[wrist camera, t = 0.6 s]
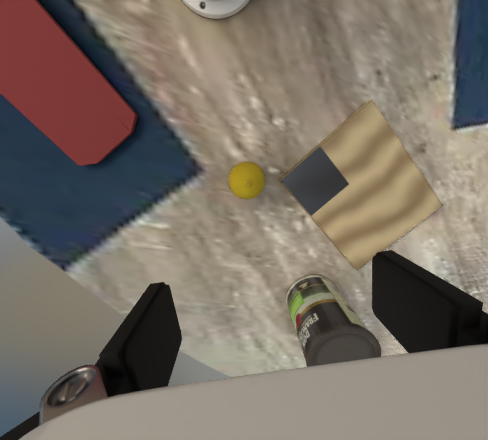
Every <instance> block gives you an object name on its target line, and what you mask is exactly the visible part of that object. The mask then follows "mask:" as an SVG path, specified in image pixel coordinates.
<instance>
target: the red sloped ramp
mask: <svg viewBox="0 0 488 440" xmlns="http://www.w3.org/2000/svg"><path fill="white" fill-rule="evenodd" d="M0 93H1V94H2V95H3V96H4V97H5V98H6V99H7V100H8V101H9V102H10V103H11V104H12V105H14V106H15V107H16V108H17V109H18V110H19V111H20V112H21V113H22V114H23V115H24V116H25V117H27V118H28V119H29V120H30V121H31V122H32V123H33V124H34V125H35V126H36V127H37V128H39V129H40V130H41V131H42V132H43V133H44V134H45V135H46V136H47V137H48V138H49V139H50V140H52V141H53V142H54V143H55V144H56V145H57V146H58V147H59V148H60V149H61V150H62V151H63V152H65V153H66V154H67V155H68V156H69V157H70V158H71V159H72V160H73V161H74V162H75V163H77V164H78V165H79V166H81V165H88V164H95V163H100V162H101V161H102V160H103V159H105V158H106V157H107V156H108V155H109V154H110V153H111V152H112V151H113V150H115V149H116V148H117V147H118V146H119V145H120V144H121V143H122V142H124V141H125V140H126V139H127V138H128V137H129V136H130V135H131V134H132V133H134V129H135V125H136V121H137V117H138V114H137V113H136V112H135V111H134V110H133V109H132V108H131V106H130V105H129V104H128V103H127V102H126V101H125V100H124V98H123V97H122V96H121V95H120V94H119V93H118V92H117V91H116V89H115V88H114V87H113V86H112V85H111V84H110V83H109V81H108V80H107V79H106V78H105V77H104V76H103V75H102V73H101V72H100V71H99V70H98V69H97V68H96V67H95V65H94V64H93V63H92V62H91V61H90V60H89V59H88V57H87V56H86V55H85V54H84V53H83V52H82V51H81V49H80V48H79V47H78V46H77V45H76V44H75V43H74V41H73V40H72V39H71V38H70V37H69V36H68V35H67V33H66V32H65V31H64V30H63V29H62V28H61V27H60V25H59V24H58V23H57V22H56V21H55V20H54V19H53V17H52V16H51V15H50V14H49V13H48V12H47V11H46V9H45V8H44V7H43V6H42V5H41V4H40V3H39V1H38V0H0Z"/></svg>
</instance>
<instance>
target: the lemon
mask: <svg viewBox="0 0 488 440" xmlns="http://www.w3.org/2000/svg"><path fill="white" fill-rule="evenodd" d="M229 186H230V189H231V190H232V192H233V193H234V194H235V195H236V196H238V197H239V198H242V199H251V198H254V197H256V196H258V195H259V194H260V193H261V192H262V190H263V188H264V186H265V175H264V172H263V171H262V169H261V168H260V167H259V166H258V165H257V164H255V163H252V162H242V163H239V164H237V165H236V166H235V167H234V168H233V169H232V170H231V172H230V175H229Z"/></svg>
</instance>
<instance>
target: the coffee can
mask: <svg viewBox="0 0 488 440" xmlns="http://www.w3.org/2000/svg"><path fill="white" fill-rule="evenodd" d="M286 304H287V308H288V310H289V312H290V315H291V318H292V321H293V324H294V327H295V330H296V333H297V336H298V339H299V342H300V345H301V348H302V351H303V354H304V357H305V359H306V365H307V367H311V366H318V365H325V364H333V363H340V362H348V361H355V360H363V359H370V358H377V357H381V347H380V344H379V342H378V340H377V339H376V338H375V336H374V335H373V334H372V333H371V332H370V331H369V330H368V329H367V328H366V326H365V325H364V324H363V322H362V321H361V320H360V319H359V317H358V316H357V315H356V313H355V312H354V311H353V309H352V308H351V307H350V305H349V304H348V303H347V302H346V300H345V299H344V298H343V296H342V295H341V294H340V292H339V291H338V290H337V288H336V286H335V285H334V284H333V282H331V281H330V280H329V279H327V278H325V277H323V276H319V275H309V276H305V277H303V278H300V279H299V280H297V281H296V282H295V283H293V285H292V286H291V287H290V288H289V290H288V292H287V296H286Z"/></svg>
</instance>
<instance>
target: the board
mask: <svg viewBox="0 0 488 440" xmlns="http://www.w3.org/2000/svg"><path fill="white" fill-rule="evenodd" d="M280 181H281V183H282V184H283V185H284V186H285V187H286V188H287V190H288V191H289V192H290V193H291V194H292V195H293V197H294V198H295V199H296V200H297V201H298V203H299V204H300V205H301V206H302V207H303V208H304V210H305V211H306V212H307V213H308V214H309V215H310V217H311V218H312V219H313V220H314V221H315V222H316V224H317V225H318V226H319V227H320V228H321V229H322V231H323V232H324V233H325V234H326V235H327V236H328V238H329V239H330V240H331V241H332V242H333V244H334V245H335V246H336V247H337V248H338V249H339V251H340V252H341V253H342V254H343V255H344V256H345V258H346V259H347V260H348V261H349V262H350V263H351V265H352V266H353V267H354V268H355V269H356V270H358V269H359V268H361V267H362V266H363V265H365V264H366V263H367V262H369V261H370V260H371V259H372V258H373V256H375V255H376V253H377V252H382V251H383V250H384V249H386V248H387V247H388V246H390V245H391V244H392V243H394V242H395V241H396V240H398V239H399V238H400V237H402V236H403V235H404V234H406V233H407V232H408V231H410V230H411V229H412V228H413V227H415V226H416V225H417V224H419V223H420V222H421V221H423V220H424V219H425V218H427V217H428V216H429V215H431V214H432V213H433V212H435V211H436V210H437V209H439V208H440V207H441V206H443V204H442V203H441V202H440V200H439V199H438V197H437V196H436V194H435V193H434V191H433V190H432V188H431V187H430V185H429V184H428V182H427V181H426V179H425V178H424V176H423V175H422V173H421V172H420V170H419V169H418V167H417V166H416V164H415V163H414V161H413V160H412V158H411V157H410V155H409V154H408V152H407V151H406V149H405V148H404V146H403V145H402V143H401V142H400V140H399V139H398V137H397V136H396V135H395V133H394V132H393V130H392V129H391V127H390V126H389V124H388V123H387V121H386V120H385V118H384V117H383V115H382V114H381V112H380V111H379V109H378V108H377V106H376V105H375V103H374V102H373V100H370V101H368V102H366V103H365V104H364V105H363V106H362V107H361V108H359V109H358V110H357V111H356V112H355V113H354V114H353V115H352V116H350V117H349V118H348V119H347V120H346V121H345V122H344V123H343V124H342V125H340V126H339V127H338V128H337V129H336V130H335V131H334V132H333V133H331V134H330V135H329V136H328V137H327V138H326V139H325V140H324V141H322V142H321V143H320V144H319V145H318V146H317V147H316V148H315V149H313V150H312V151H311V152H310V153H309V154H308V155H307V156H306V157H304V158H303V159H302V160H301V161H300V162H299V163H298V164H297V165H295V166H294V167H293V168H292V169H291V170H290V171H289V172H288V173H287V174H285V175H284V176H283V177H282V178H281V179H280Z"/></svg>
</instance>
